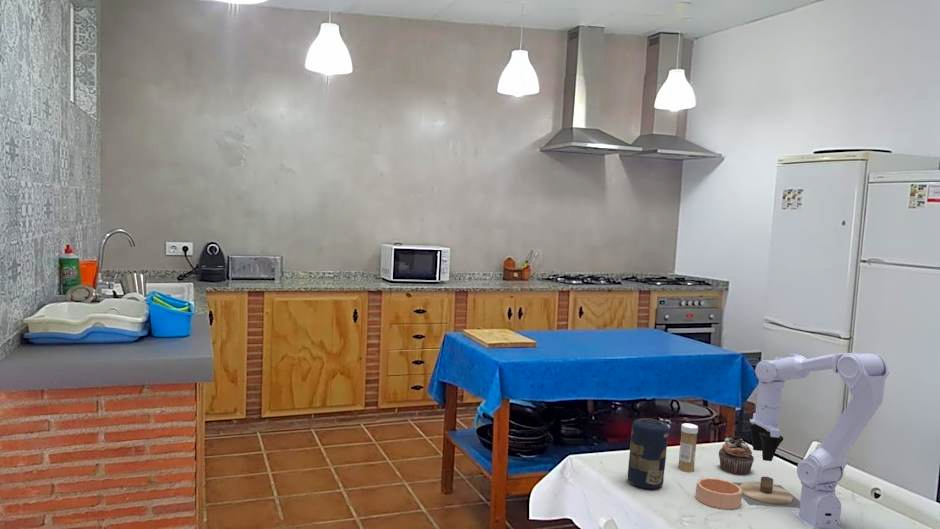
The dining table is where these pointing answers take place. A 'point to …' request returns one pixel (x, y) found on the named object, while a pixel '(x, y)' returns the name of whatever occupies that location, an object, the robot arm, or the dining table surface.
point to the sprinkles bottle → (687, 447)
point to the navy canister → (647, 453)
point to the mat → (753, 502)
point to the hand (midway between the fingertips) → (762, 455)
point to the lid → (766, 492)
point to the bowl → (718, 493)
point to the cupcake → (736, 456)
